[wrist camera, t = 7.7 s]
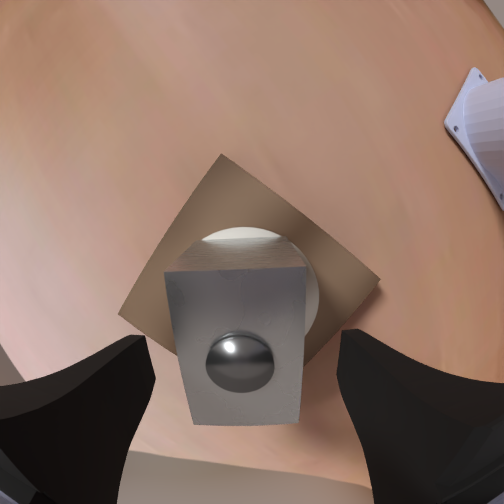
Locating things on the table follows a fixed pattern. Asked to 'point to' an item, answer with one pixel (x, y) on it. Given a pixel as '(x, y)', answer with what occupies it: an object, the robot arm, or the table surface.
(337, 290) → the stand
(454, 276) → the table surface
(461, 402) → the robot arm
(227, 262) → the housing
